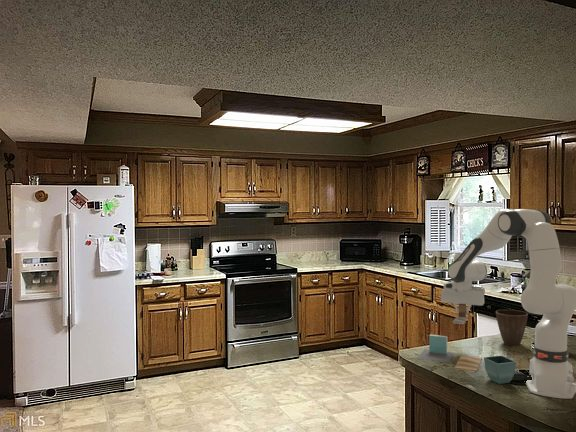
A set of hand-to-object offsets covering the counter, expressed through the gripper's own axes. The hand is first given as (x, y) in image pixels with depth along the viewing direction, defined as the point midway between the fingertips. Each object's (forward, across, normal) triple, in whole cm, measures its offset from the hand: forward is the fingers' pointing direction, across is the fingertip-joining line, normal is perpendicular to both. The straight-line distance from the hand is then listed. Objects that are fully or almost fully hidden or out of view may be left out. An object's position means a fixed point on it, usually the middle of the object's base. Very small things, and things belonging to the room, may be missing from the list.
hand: (462, 312), depth 245 cm
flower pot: (+17, -21, +43) cm, 51 cm away
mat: (+17, +8, +21) cm, 28 cm away
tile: (+17, +8, +16) cm, 24 cm away
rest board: (+17, -6, +26) cm, 31 cm away
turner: (+3, 0, +6) cm, 6 cm away
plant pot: (+18, -21, -19) cm, 33 cm away
